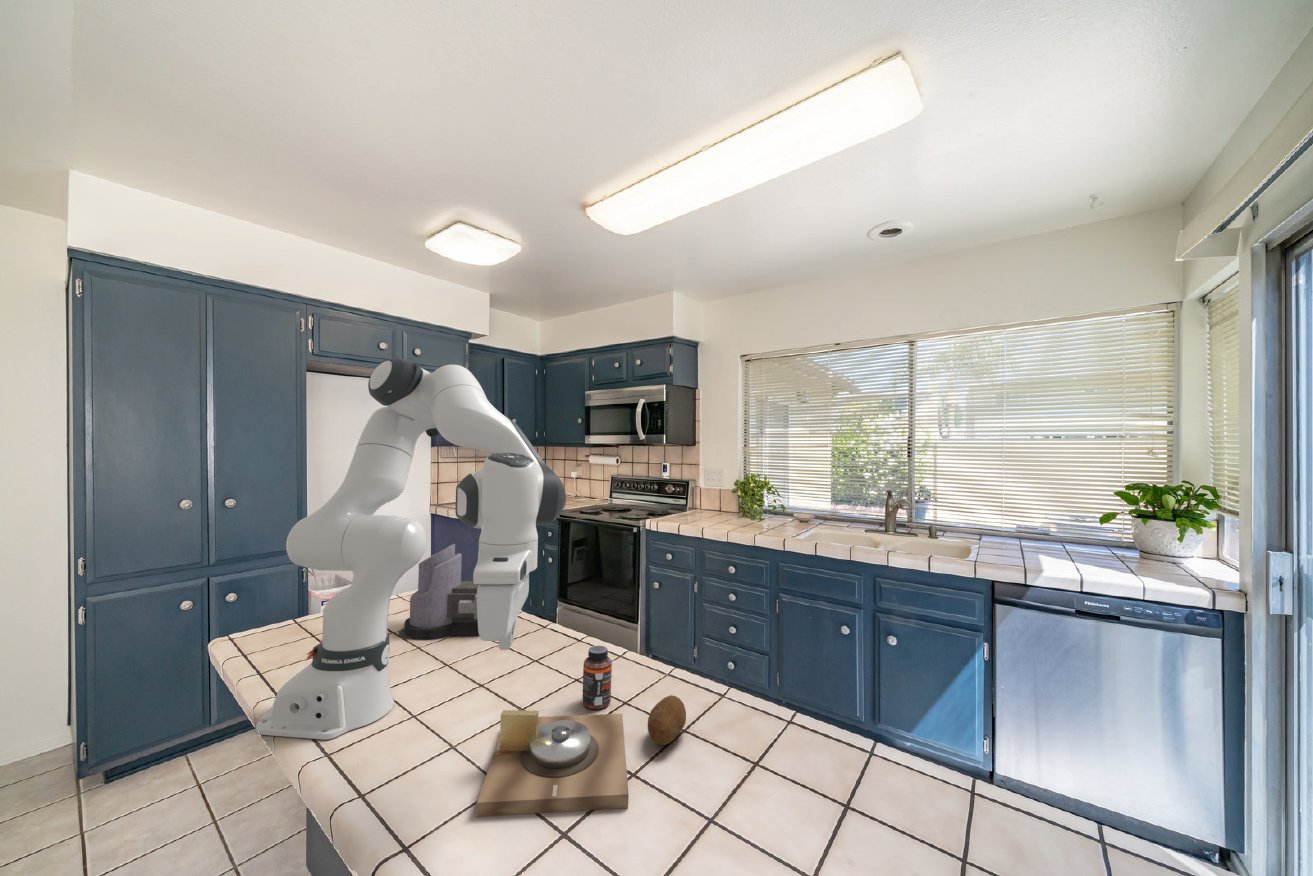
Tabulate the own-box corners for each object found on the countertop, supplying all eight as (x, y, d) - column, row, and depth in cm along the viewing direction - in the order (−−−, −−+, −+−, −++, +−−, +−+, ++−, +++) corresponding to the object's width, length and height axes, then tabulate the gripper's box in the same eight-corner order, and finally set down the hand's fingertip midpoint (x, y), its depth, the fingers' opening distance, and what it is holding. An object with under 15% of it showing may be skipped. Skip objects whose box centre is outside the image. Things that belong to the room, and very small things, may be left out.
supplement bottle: (605, 712, 99) (607, 656, 99) (578, 709, 100) (579, 653, 100) (614, 698, 105) (615, 644, 105) (587, 694, 106) (589, 642, 106)
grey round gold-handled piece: (592, 731, 88) (593, 698, 88) (586, 768, 78) (587, 730, 78) (509, 731, 88) (510, 697, 88) (491, 767, 78) (492, 729, 78)
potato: (639, 753, 86) (640, 713, 86) (656, 718, 97) (657, 683, 98) (677, 760, 85) (678, 720, 85) (690, 724, 96) (690, 688, 96)
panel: (476, 816, 71) (476, 801, 71) (505, 728, 93) (506, 717, 93) (628, 807, 73) (628, 793, 73) (622, 724, 95) (622, 712, 95)
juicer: (388, 641, 132) (391, 550, 132) (412, 619, 148) (415, 538, 148) (502, 639, 135) (504, 550, 135) (514, 619, 150) (516, 539, 151)
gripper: (502, 543, 87) (500, 621, 87) (469, 576, 66) (467, 678, 66) (538, 543, 87) (536, 620, 87) (517, 575, 67) (514, 677, 67)
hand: (506, 646), depth 77 cm, fingers closed
